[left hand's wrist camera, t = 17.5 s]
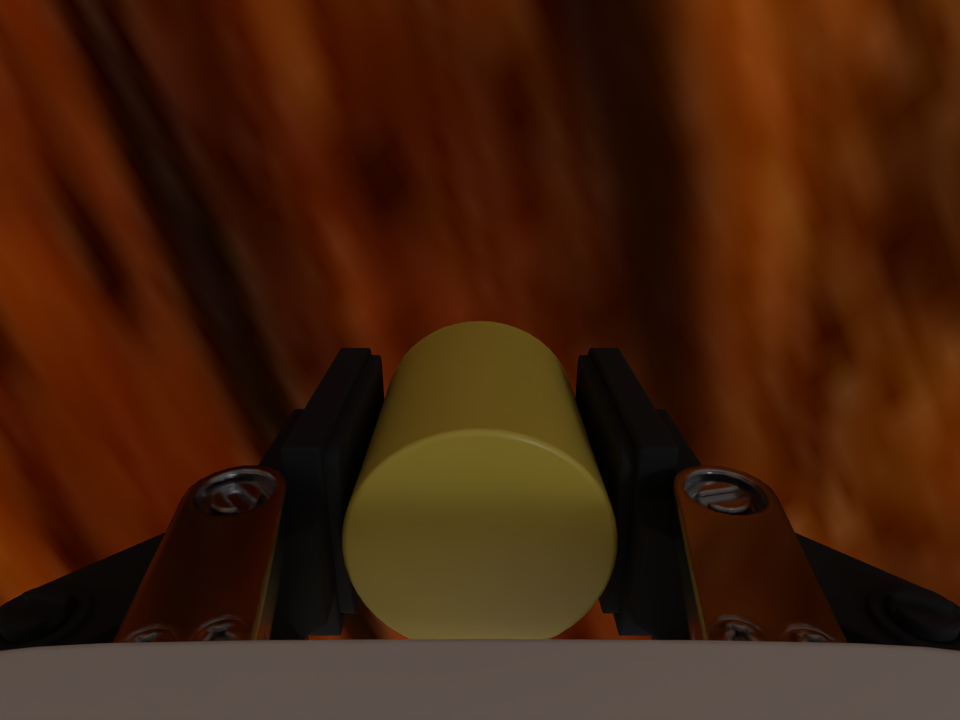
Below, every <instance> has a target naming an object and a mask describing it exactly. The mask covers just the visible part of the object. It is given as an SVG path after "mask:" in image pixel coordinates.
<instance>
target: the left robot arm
mask: <svg viewBox="0 0 960 720" xmlns="http://www.w3.org/2000/svg"><path fill="white" fill-rule="evenodd" d="M575 400H576V403H577V406H578V409H579V412H580V415H581V417H582V420H583V423H584V426H585V429H586V432H587V435H588V438H589V441H590V444H591V447H592V450H593V453H594V456H595V458H596V461H597V464H598V467H599V470H600V473H601V476H602V479H603V482H604V485H605V488H606V491H607V494H608V497H609V499H610V502H611V505H612V509H613V512H614V515H615V518H616V524H617V531H618V550H617V555H616V561H615V565H614V568H613V571H612V574H611V577H610V580H609V582H608V584H607V586H606V587H605V589H604V591H603V593H602V595H601V596H600V597H599V601H600V605H601V609H602V612H603V613H613V615H614V618H615V622H616V626H617V629H618V633H619V635H652V639H651V640H550V639H410V640H309V639H308V635H341V632H342V628H343V625H344V621H345V617H346V613H357V611H358V608H359V604H360V600H361V598H360V596H359V595H358V594H357V592H356V590H355V588H354V586H353V584H352V582H351V581H350V578H349V575H348V572H347V569H346V566H345V563H344V557H343V552H342V528H343V521H344V517H345V514H346V511H347V507H348V504H349V501H350V498H351V496H352V493H353V490H354V487H355V484H356V481H357V478H358V475H359V472H360V469H361V466H362V464H363V461H364V458H365V455H366V452H367V449H368V446H369V443H370V440H371V437H372V434H373V431H374V429H375V426H376V423H377V420H378V417H379V414H380V411H381V408H382V405H383V402H384V389H383V374H382V361H381V357H380V355H372V354H371V350H370V349H369V348H342V349H341V350H340V351H339V353H338V355H337V356H336V358H335V359H334V361H333V363H332V364H331V366H330V368H329V369H328V371H327V373H326V374H325V376H324V378H323V379H322V381H321V383H320V384H319V386H318V387H317V389H316V391H315V392H314V394H313V396H312V397H311V399H310V401H309V402H308V404H307V406H306V407H305V409H295V410H294V411H293V412H292V414H291V415H290V417H289V418H288V420H287V421H286V423H285V425H284V426H283V428H282V429H281V431H280V432H279V434H278V435H277V437H276V439H275V440H274V442H273V443H272V445H271V446H270V448H269V449H268V451H267V453H266V454H265V456H264V457H263V459H262V460H261V462H260V464H259V465H254V466H239V467H233V468H228V469H225V470H222V471H218V472H215V473H213V474H211V475H209V476H207V477H205V478H203V479H201V480H199V481H198V482H196V483H195V484H194V485H192V486H191V487H190V488H189V489H188V490H187V492H186V493H185V494H184V496H183V497H182V499H181V501H180V503H179V505H178V507H177V510H176V512H175V514H174V516H173V518H172V520H171V522H170V524H169V526H168V528H167V530H166V532H165V533H163V534H161V535H158V536H156V537H154V538H151V539H149V540H147V541H144V542H142V543H140V544H137V545H135V546H133V547H130V548H128V549H126V550H123V551H121V552H119V553H116V554H114V555H112V556H110V557H107V558H105V559H103V560H100V561H98V562H96V563H93V564H91V565H89V566H86V567H84V568H82V569H79V570H77V571H75V572H72V573H70V574H68V575H65V576H63V577H61V578H58V579H56V580H54V581H51V582H49V583H47V584H44V585H42V586H40V587H38V588H34V589H32V590H29V591H27V592H24V593H22V595H20V596H18V597H16V598H14V599H12V600H11V601H9V602H7V603H5V604H4V605H2V606H1V607H0V720H960V607H959V606H957V605H956V604H954V603H953V602H951V601H949V600H947V599H946V598H944V597H943V596H941V595H939V594H937V593H935V592H933V591H931V590H928V589H925V588H922V587H920V586H918V585H915V584H913V583H911V582H908V581H906V580H904V579H901V578H899V577H897V576H894V575H892V574H890V573H887V572H885V571H883V570H880V569H878V568H876V567H873V566H871V565H869V564H866V563H864V562H862V561H859V560H857V559H855V558H853V557H850V556H848V555H846V554H843V553H841V552H839V551H836V550H834V549H832V548H829V547H827V546H825V545H822V544H820V543H818V542H815V541H813V540H811V539H808V538H806V537H804V536H801V535H799V534H797V533H795V532H794V530H793V528H792V526H791V524H790V522H789V520H788V518H787V516H786V514H785V512H784V510H783V507H782V505H781V503H780V501H779V499H778V497H777V496H776V494H775V493H774V492H773V490H772V489H771V488H770V487H769V486H768V485H766V484H765V483H764V482H762V481H761V480H759V479H757V478H755V477H753V476H751V475H749V474H747V473H745V472H742V471H738V470H735V469H732V468H727V467H721V466H706V465H701V464H700V462H699V461H698V459H697V458H696V456H695V455H694V453H693V452H692V450H691V448H690V447H689V445H688V444H687V442H686V441H685V439H684V438H683V436H682V434H681V433H680V431H679V430H678V428H677V427H676V425H675V424H674V422H673V420H672V419H671V417H670V416H669V414H668V413H667V412H666V411H665V410H664V409H655V408H654V406H653V405H652V403H651V401H650V400H649V398H648V396H647V395H646V393H645V391H644V390H643V388H642V386H641V385H640V383H639V381H638V380H637V378H636V377H635V375H634V373H633V372H632V370H631V368H630V367H629V365H628V363H627V362H626V360H625V358H624V357H623V355H622V353H621V352H620V350H619V349H618V348H590V349H589V352H588V355H580V356H579V359H578V369H577V384H576V399H575Z"/></svg>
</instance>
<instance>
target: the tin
mask: <svg viewBox="0 0 960 720" xmlns="http://www.w3.org/2000/svg"><path fill="white" fill-rule="evenodd" d="M617 550H618V531H617V524H616V518H615V515H614V512H613V509H612V505H611V502H610V499H609V497H608V494H607V491H606V488H605V485H604V482H603V479H602V476H601V473H600V470H599V467H598V464H597V461H596V458H595V456H594V453H593V450H592V447H591V444H590V441H589V438H588V435H587V432H586V429H585V426H584V423H583V420H582V417H581V415H580V412H579V409H578V406H577V403H576V400H575V397H574V394H573V391H572V388H571V385H570V382H569V379H568V377H567V374H566V372H565V370H564V368H563V366H562V365H561V363H560V362H559V360H558V359H557V357H556V356H555V355H554V354H553V353H552V352H551V350H550V349H549V348H548V347H547V346H545V345H544V344H543V343H542V342H541V341H540V340H538V339H537V338H535V337H533V336H532V335H530V334H529V333H527V332H525V331H522V330H520V329H518V328H515V327H512V326H509V325H506V324H501V323H496V322H487V321H473V322H464V323H458V324H454V325H451V326H448V327H444V328H442V329H440V330H437V331H435V332H433V333H431V334H430V335H428V336H426V337H425V338H423V339H422V340H420V341H419V342H418V343H417V344H416V345H414V346H413V347H412V348H411V349H410V350H409V351H408V353H407V354H406V355H405V356H404V357H403V359H402V360H401V362H400V363H399V365H398V366H397V368H396V370H395V372H394V374H393V376H392V379H391V382H390V385H389V388H388V391H387V394H386V396H385V399H384V402H383V405H382V408H381V411H380V414H379V417H378V420H377V423H376V426H375V429H374V431H373V434H372V437H371V440H370V443H369V446H368V449H367V452H366V455H365V458H364V461H363V464H362V466H361V469H360V472H359V475H358V478H357V481H356V484H355V487H354V490H353V493H352V496H351V498H350V501H349V504H348V507H347V511H346V514H345V517H344V521H343V528H342V552H343V557H344V563H345V566H346V569H347V572H348V575H349V578H350V581H351V582H352V584H353V586H354V588H355V590H356V592H357V594H358V595H359V596H360V598H361V599H362V601H363V602H364V603H365V605H366V606H367V607H368V608H369V609H370V610H371V611H372V612H373V613H374V614H375V615H376V616H377V617H378V618H379V619H380V620H381V621H383V622H384V623H385V624H386V625H388V626H389V627H390V628H392V629H394V630H395V631H397V632H398V633H400V634H401V635H403V636H405V637H407V638H409V639H550V638H552V637H554V636H556V635H558V634H560V633H561V632H563V631H565V630H566V629H568V628H569V627H571V626H572V625H573V624H575V623H576V622H577V621H578V620H579V619H581V618H582V617H583V616H584V615H585V614H586V613H587V612H588V611H589V610H590V609H591V608H592V607H593V606H594V604H595V603H596V601H597V600H598V599H599V597H600V596H601V595H602V593H603V591H604V589H605V587H606V586H607V584H608V582H609V580H610V577H611V574H612V571H613V568H614V565H615V561H616V555H617Z"/></svg>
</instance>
